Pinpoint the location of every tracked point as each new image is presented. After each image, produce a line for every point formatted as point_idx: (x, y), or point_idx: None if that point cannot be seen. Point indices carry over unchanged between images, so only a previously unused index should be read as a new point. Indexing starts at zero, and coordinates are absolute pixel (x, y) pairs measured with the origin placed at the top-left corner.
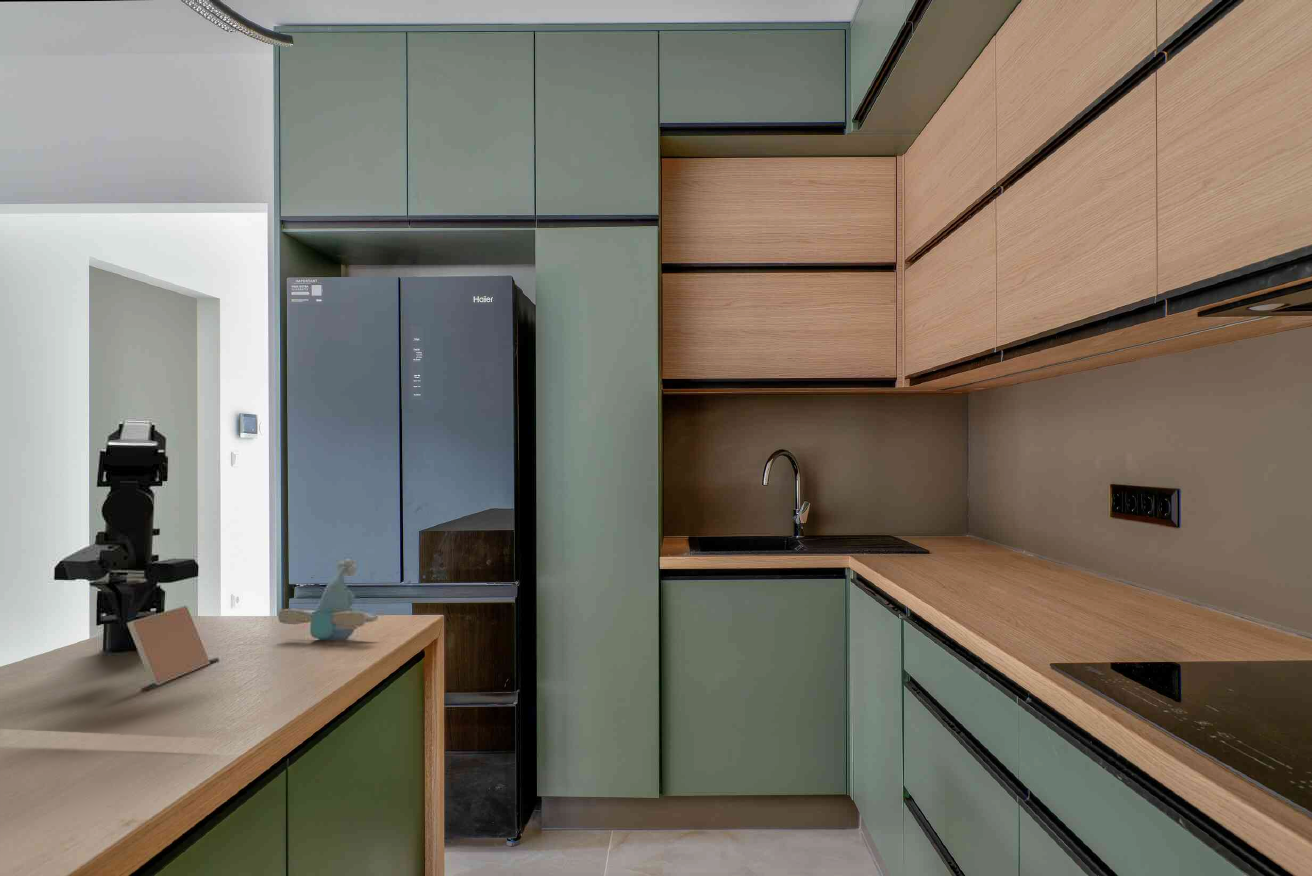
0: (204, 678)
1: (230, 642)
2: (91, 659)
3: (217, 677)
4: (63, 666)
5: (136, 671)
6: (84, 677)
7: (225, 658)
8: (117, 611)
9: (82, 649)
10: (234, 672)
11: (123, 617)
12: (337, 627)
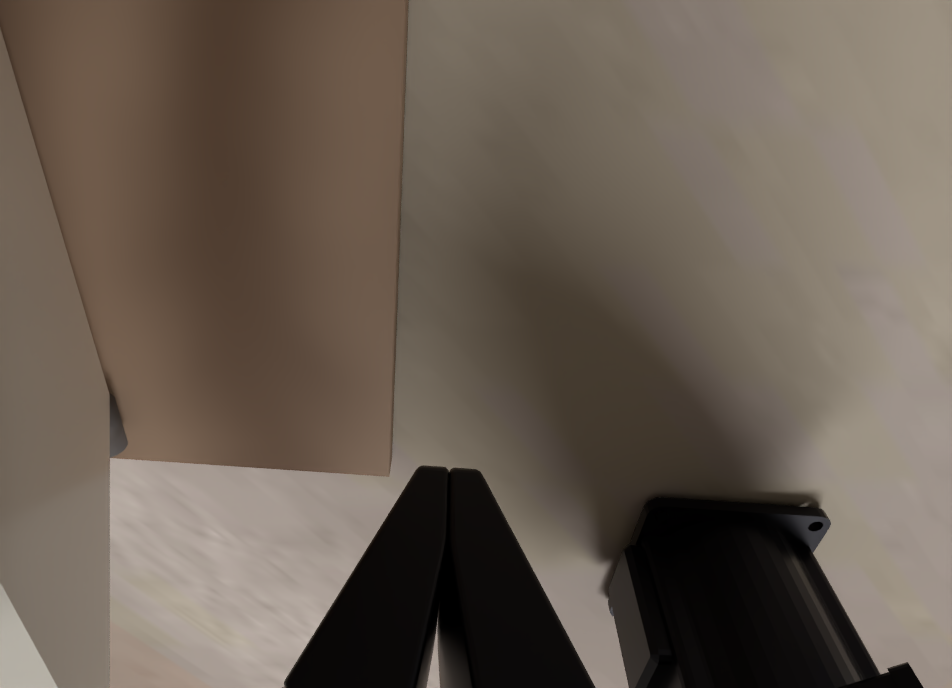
0: None
1: None
2: (843, 524)
3: None
4: (925, 449)
5: (522, 394)
6: (732, 313)
7: (248, 540)
8: (499, 612)
9: (943, 613)
10: None
11: (419, 540)
12: None
